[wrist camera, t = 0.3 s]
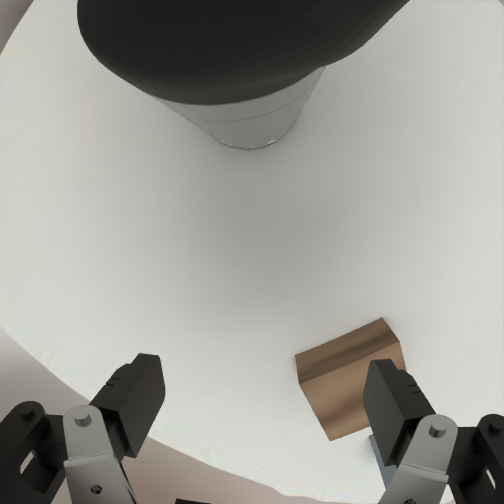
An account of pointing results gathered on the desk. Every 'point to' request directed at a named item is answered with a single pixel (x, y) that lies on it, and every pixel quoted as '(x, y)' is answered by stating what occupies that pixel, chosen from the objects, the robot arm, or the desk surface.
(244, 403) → the desk surface
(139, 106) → the desk surface
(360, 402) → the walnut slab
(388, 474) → the slate pillar
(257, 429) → the desk surface
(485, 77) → the desk surface
